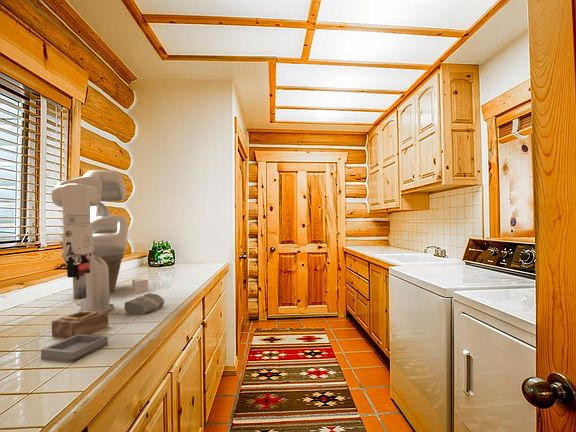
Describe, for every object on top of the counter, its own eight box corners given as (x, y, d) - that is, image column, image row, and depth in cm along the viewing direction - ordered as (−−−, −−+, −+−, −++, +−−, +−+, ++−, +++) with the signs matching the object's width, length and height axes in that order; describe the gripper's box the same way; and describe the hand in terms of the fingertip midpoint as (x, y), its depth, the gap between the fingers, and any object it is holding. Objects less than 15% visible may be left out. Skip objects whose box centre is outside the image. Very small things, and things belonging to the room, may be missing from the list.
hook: (71, 301, 98) (69, 265, 98) (67, 298, 103) (66, 264, 103) (92, 297, 103) (91, 263, 103) (88, 294, 107) (87, 261, 107)
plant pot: (81, 302, 139) (79, 255, 139) (58, 296, 153) (56, 253, 153) (134, 290, 160) (133, 248, 160) (110, 285, 174) (108, 247, 174)
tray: (41, 358, 83) (40, 349, 83) (78, 342, 93) (78, 333, 93) (73, 362, 80) (72, 352, 80) (108, 344, 91) (107, 336, 91)
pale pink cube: (148, 291, 158) (147, 279, 158) (135, 293, 154) (134, 281, 154) (145, 289, 162) (144, 277, 162) (132, 291, 159) (132, 279, 159)
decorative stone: (146, 306, 131) (145, 292, 131) (167, 306, 129) (167, 292, 129) (124, 316, 118) (123, 300, 118) (148, 316, 116) (147, 300, 116)
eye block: (52, 336, 99) (51, 319, 99) (83, 324, 109) (82, 308, 109) (79, 339, 96) (78, 321, 96) (108, 326, 106) (107, 310, 106)
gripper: (73, 221, 94) (75, 280, 94) (102, 220, 111) (104, 269, 112) (47, 222, 94) (49, 281, 94) (80, 221, 111) (82, 270, 111)
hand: (79, 274), depth 103 cm, fingers closed on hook, 6 cm apart
